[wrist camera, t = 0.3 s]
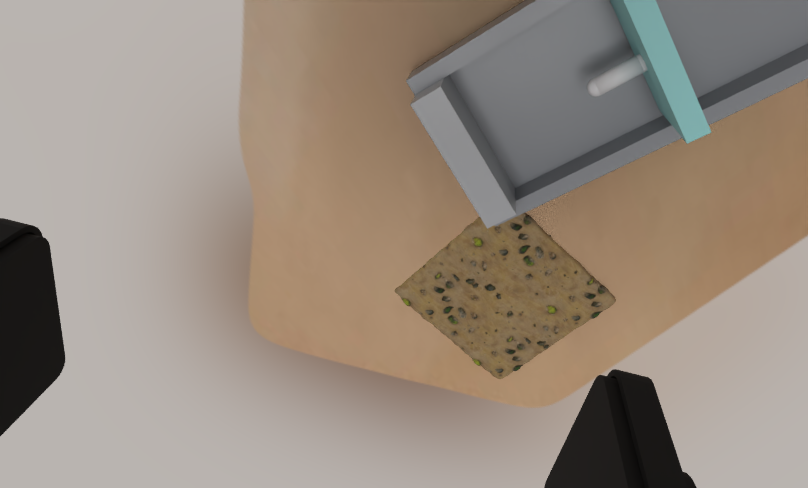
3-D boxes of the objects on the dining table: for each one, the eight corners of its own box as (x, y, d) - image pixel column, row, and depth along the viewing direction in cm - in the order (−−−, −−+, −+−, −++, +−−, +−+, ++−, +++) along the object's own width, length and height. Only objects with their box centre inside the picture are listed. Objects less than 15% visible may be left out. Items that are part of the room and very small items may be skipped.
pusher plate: (624, -27, 31) (648, -16, 26) (679, 100, 34) (711, 132, 29) (551, 17, 33) (560, 36, 28) (609, 135, 36) (627, 171, 31)
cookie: (504, 188, 40) (504, 194, 39) (619, 296, 43) (621, 304, 42) (391, 287, 45) (389, 294, 44) (499, 377, 48) (499, 385, 47)
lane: (833, -192, 28) (888, -211, 24) (890, 16, 31) (946, 31, 27) (412, 71, 37) (400, 89, 33) (495, 209, 40) (495, 241, 36)
